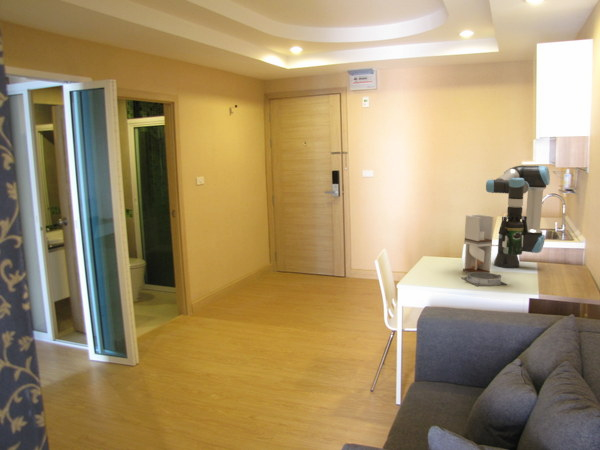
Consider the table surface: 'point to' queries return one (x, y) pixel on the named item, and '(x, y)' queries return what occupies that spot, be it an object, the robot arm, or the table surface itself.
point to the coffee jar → (513, 238)
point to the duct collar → (483, 279)
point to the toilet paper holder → (478, 243)
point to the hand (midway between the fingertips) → (512, 246)
